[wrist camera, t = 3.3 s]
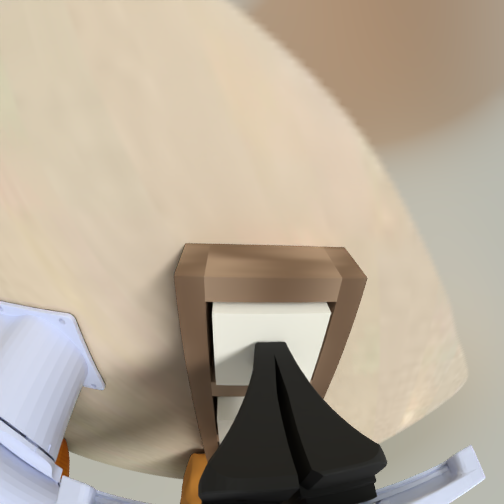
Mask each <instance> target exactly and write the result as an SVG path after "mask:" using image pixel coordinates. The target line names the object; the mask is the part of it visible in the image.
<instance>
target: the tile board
mask: <svg viewBox="0 0 504 504" xmlns="http://www.w3.org/2000/svg"><path fill="white" fill-rule="evenodd" d="M174 281H175V290H176V299H177V307H178V315H179V322H180V329H181V336H182V343H183V349H184V355H185V361H186V367H187V373H188V378H189V383H190V389H191V394H192V399H193V404H194V408H195V413H196V418H197V422H198V426H199V431H200V435H201V439H202V443H203V447H204V451H205V455H206V459H207V462H208V461H209V459H210V458H211V457H212V455H213V454H214V453H215V451H216V450H217V448H218V447H219V445H220V443H219V433H218V424H217V405H218V403H217V396H226V397H245V394H246V391H247V388H248V385H216V376H215V361H214V345H213V325H212V302H249V303H297V302H327V304H328V307H329V309H330V311H331V315H330V319H329V322H328V326H327V329H326V333H325V336H324V339H323V343H322V346H321V349H320V353H319V356H318V359H317V362H316V365H315V368H314V371H313V374H312V377H311V380H310V383H311V385H312V386H313V387H314V389H315V390H316V391H317V392H318V394H319V395H320V396H321V397H322V398H324V396H325V394H326V392H327V389H328V387H329V385H330V382H331V380H332V378H333V375H334V373H335V370H336V368H337V365H338V363H339V360H340V358H341V355H342V353H343V350H344V347H345V345H346V342H347V339H348V337H349V334H350V331H351V328H352V325H353V322H354V319H355V316H356V313H357V310H358V307H359V304H360V301H361V298H362V295H363V291H364V288H365V285H366V281H367V277H366V275H365V274H364V273H363V271H362V270H361V269H360V267H359V266H358V265H357V263H356V262H355V261H354V259H353V258H352V257H351V255H350V254H349V253H348V251H347V250H346V249H345V248H343V247H310V246H274V245H235V244H190V243H186V244H185V247H184V249H183V252H182V255H181V257H180V260H179V263H178V266H177V268H176V271H175V274H174Z"/></svg>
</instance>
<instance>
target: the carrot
mask: <svg viewBox="0 0 504 504" xmlns="http://www.w3.org/2000/svg"><path fill="white" fill-rule="evenodd" d="M54 463H55V464H56V465H58V466H59V467H60V468H62V469H63V471H62V475H61V479H62V476H64V475H65V476H67V477H69V451H68V446H67V442H66V440H65V439H64V438H63V440H62V443H61V446H60V450H59V453H58V456H57V459H56V462H54Z"/></svg>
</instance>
